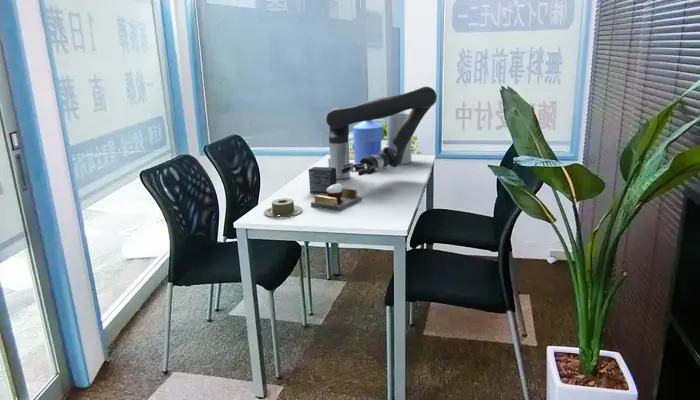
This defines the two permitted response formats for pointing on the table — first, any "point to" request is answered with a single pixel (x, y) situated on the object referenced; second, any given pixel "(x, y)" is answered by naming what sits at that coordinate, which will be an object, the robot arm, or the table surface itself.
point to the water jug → (367, 139)
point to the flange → (283, 208)
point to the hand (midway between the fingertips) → (350, 172)
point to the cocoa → (334, 187)
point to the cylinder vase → (392, 128)
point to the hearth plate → (346, 200)
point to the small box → (320, 179)
